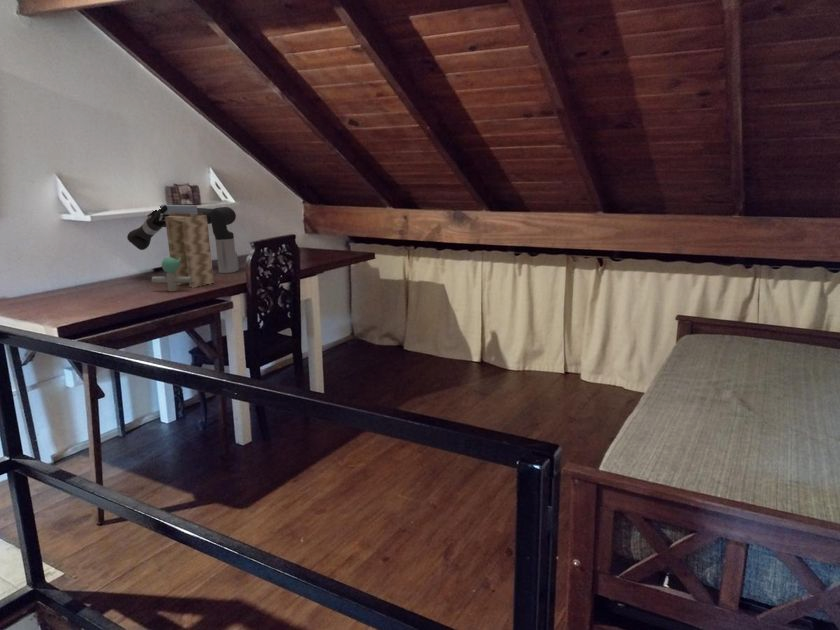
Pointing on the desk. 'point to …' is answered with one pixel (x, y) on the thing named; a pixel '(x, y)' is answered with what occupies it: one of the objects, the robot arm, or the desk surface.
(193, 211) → the bar
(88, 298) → the desk surface
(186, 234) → the zigzag patterned block
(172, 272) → the toy
